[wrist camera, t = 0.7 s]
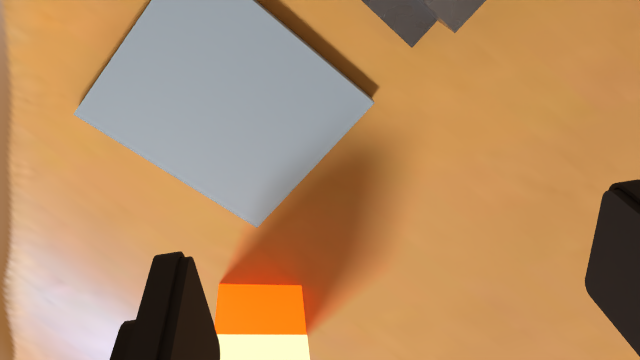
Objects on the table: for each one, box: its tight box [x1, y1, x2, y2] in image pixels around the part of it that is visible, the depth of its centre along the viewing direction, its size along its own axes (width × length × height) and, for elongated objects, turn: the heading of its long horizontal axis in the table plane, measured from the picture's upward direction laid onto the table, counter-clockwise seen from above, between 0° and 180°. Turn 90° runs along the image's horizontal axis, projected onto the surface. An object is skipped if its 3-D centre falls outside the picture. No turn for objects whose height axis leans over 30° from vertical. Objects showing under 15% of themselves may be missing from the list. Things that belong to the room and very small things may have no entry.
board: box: [74, 0, 374, 228], centre depth 36 cm, size 16×14×1 cm
